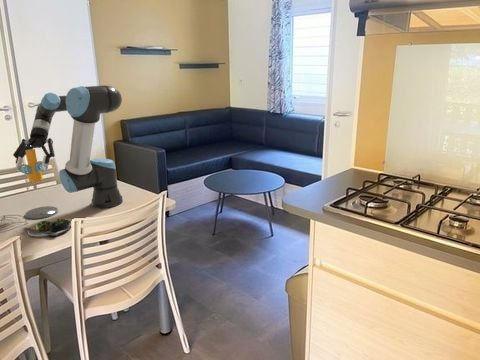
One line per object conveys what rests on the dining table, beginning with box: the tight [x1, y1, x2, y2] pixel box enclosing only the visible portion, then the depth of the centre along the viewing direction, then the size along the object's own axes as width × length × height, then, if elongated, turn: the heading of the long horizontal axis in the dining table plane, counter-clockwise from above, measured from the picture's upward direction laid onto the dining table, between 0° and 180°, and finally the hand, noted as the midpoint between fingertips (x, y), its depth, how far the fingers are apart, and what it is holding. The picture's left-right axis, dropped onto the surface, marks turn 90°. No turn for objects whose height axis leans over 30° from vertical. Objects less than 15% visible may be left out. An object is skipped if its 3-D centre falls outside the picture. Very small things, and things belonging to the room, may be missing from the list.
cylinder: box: [19, 148, 49, 183], centre depth 180 cm, size 12×10×15 cm
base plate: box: [24, 205, 59, 220], centre depth 185 cm, size 14×14×1 cm
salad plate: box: [22, 218, 72, 238], centre depth 166 cm, size 19×18×5 cm
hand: (30, 169), depth 178 cm, fingers closed on cylinder, 11 cm apart
